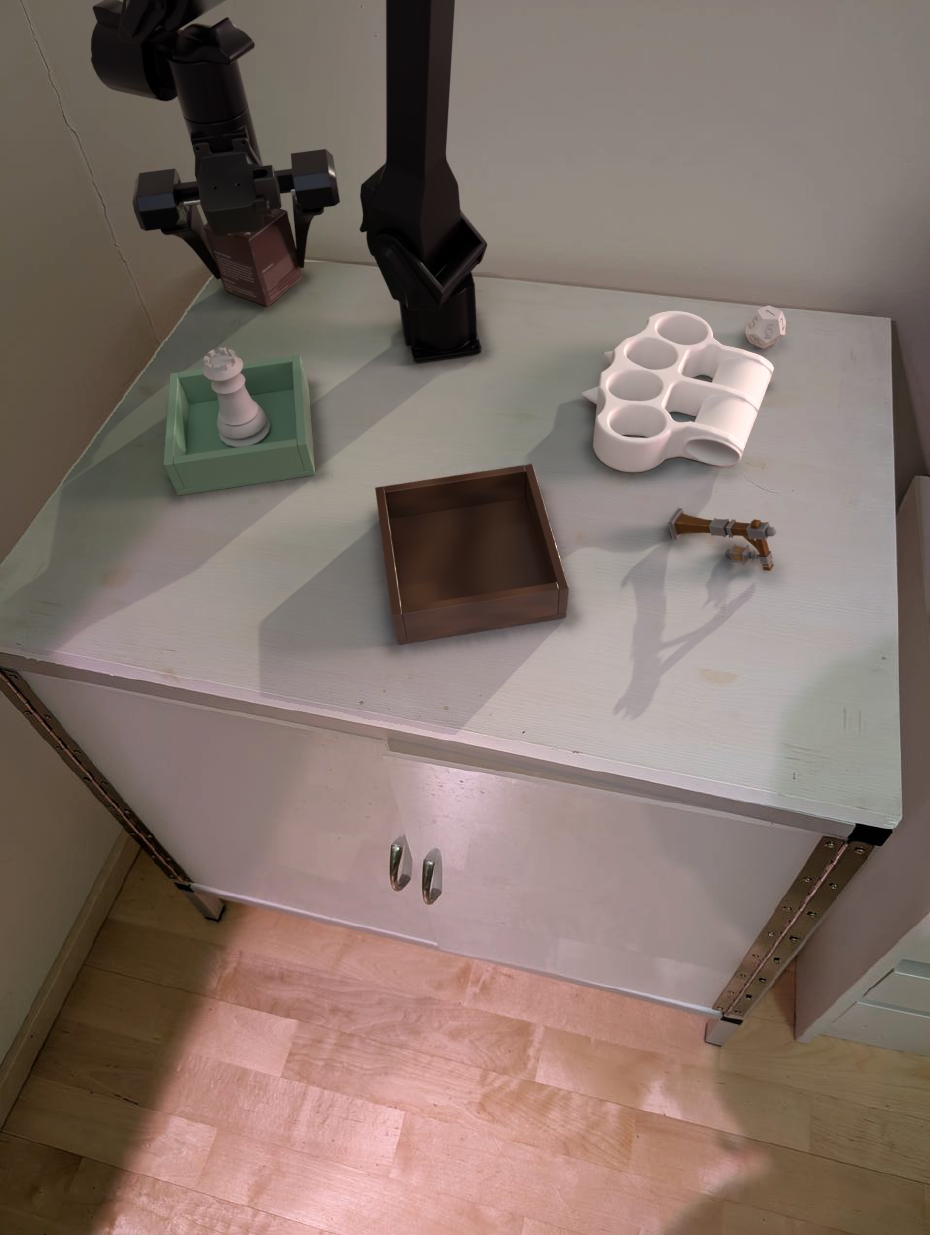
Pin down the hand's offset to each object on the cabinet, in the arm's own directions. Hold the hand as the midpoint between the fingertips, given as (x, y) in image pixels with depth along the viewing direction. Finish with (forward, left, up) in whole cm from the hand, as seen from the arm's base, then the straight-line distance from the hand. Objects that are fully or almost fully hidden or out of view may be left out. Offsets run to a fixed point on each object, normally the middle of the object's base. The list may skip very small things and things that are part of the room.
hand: (260, 271), depth 86 cm
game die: (-46, +20, -2) cm, 50 cm away
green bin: (+2, +23, -2) cm, 23 cm away
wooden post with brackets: (-34, +43, -2) cm, 55 cm away
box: (0, 0, -2) cm, 2 cm away
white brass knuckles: (-35, +27, -2) cm, 44 cm away
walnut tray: (-15, +41, -2) cm, 44 cm away
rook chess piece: (+2, +23, -1) cm, 23 cm away
